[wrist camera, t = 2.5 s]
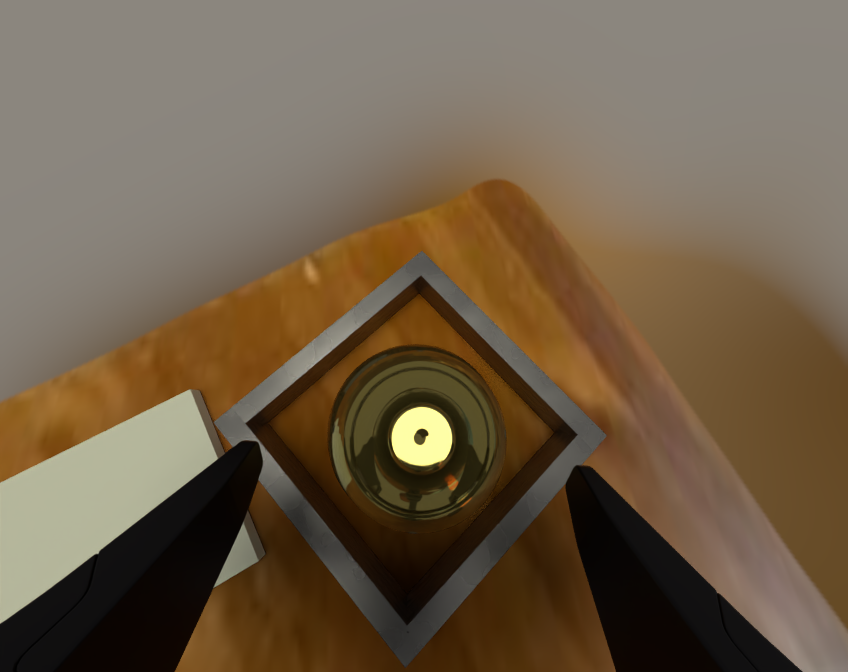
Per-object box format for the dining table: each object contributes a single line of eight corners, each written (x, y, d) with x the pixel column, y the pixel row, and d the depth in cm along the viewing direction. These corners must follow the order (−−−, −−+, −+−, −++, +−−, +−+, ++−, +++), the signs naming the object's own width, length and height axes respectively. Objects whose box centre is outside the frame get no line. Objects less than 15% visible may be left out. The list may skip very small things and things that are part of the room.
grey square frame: (580, 433, 18) (606, 435, 16) (405, 629, 16) (405, 667, 13) (420, 271, 20) (421, 250, 18) (240, 421, 18) (213, 422, 15)
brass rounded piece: (349, 511, 17) (270, 639, 7) (341, 367, 19) (269, 310, 9) (491, 492, 17) (597, 585, 8) (470, 353, 19) (536, 286, 9)
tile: (199, 390, 18) (190, 389, 17) (265, 554, 16) (258, 561, 15) (-69, 523, 16) (-94, 529, 15) (-26, 727, 14) (-51, 745, 13)
